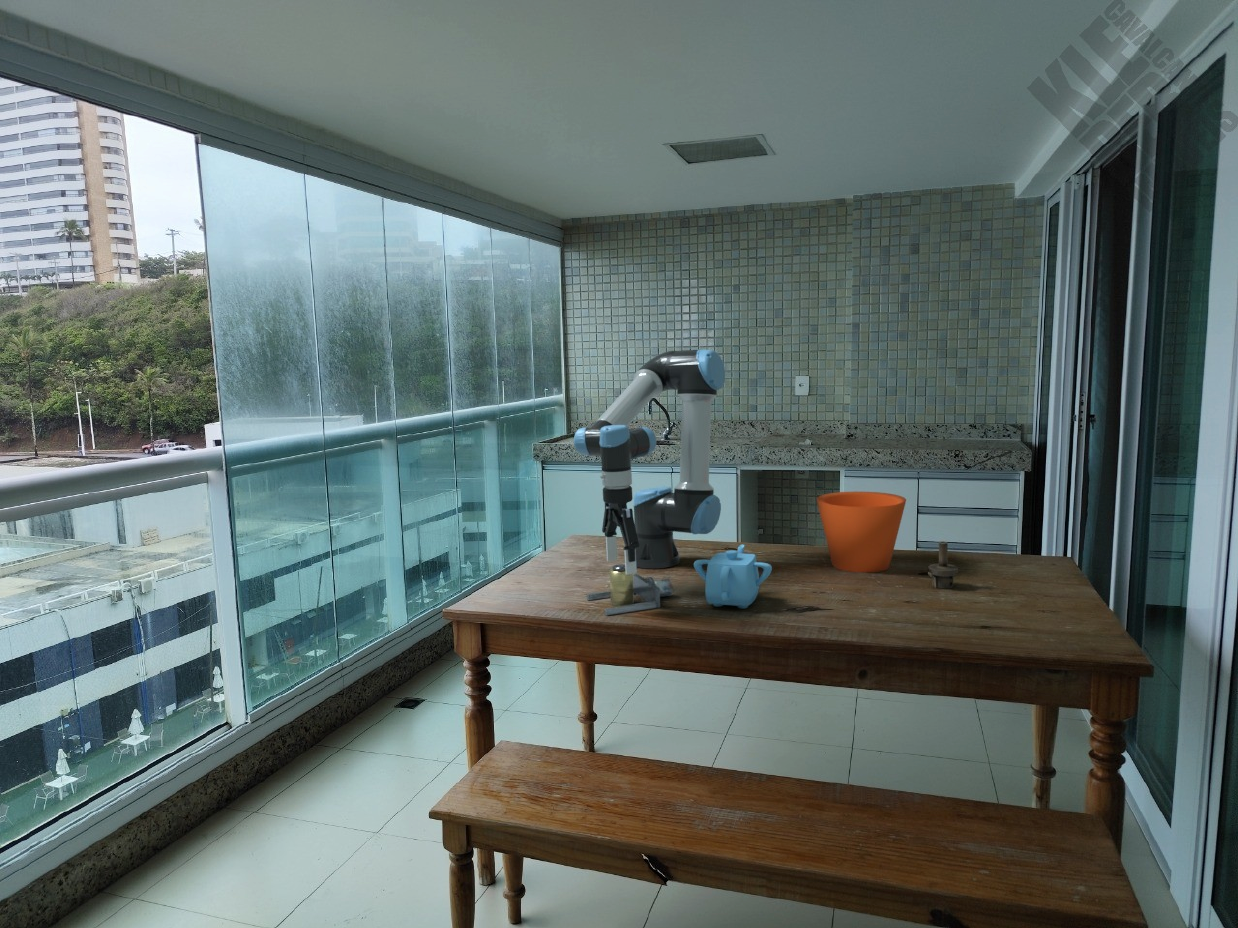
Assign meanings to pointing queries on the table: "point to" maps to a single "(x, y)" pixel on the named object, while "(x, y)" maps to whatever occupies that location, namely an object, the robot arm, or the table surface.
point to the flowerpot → (861, 528)
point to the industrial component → (943, 569)
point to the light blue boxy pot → (732, 578)
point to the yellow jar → (621, 586)
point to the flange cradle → (639, 594)
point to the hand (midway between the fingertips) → (621, 567)
